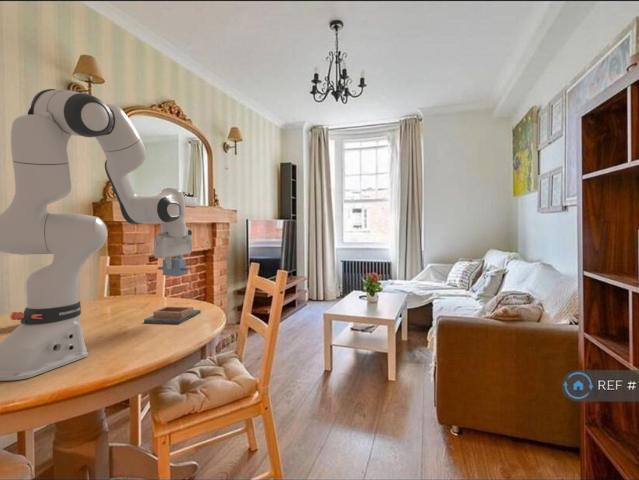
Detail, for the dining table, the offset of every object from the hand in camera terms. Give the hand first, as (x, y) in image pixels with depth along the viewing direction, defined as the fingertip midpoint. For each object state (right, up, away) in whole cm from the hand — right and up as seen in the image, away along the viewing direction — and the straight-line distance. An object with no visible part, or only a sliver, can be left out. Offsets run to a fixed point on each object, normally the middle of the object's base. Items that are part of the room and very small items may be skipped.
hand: (174, 267), depth 130 cm
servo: (0, -3, 0) cm, 3 cm away
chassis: (-1, -20, +2) cm, 20 cm away
